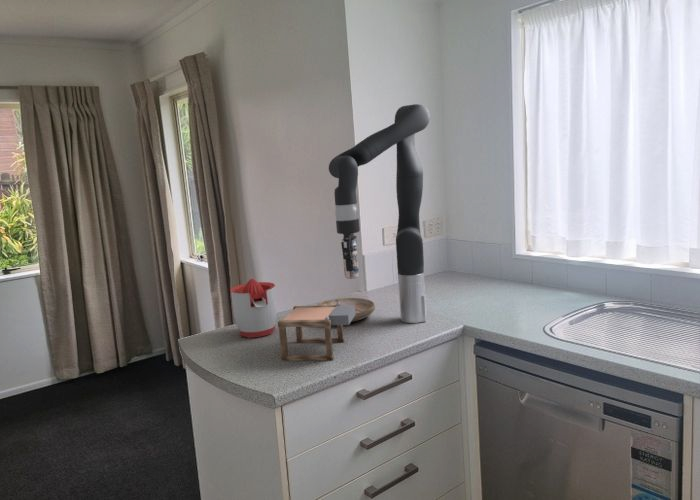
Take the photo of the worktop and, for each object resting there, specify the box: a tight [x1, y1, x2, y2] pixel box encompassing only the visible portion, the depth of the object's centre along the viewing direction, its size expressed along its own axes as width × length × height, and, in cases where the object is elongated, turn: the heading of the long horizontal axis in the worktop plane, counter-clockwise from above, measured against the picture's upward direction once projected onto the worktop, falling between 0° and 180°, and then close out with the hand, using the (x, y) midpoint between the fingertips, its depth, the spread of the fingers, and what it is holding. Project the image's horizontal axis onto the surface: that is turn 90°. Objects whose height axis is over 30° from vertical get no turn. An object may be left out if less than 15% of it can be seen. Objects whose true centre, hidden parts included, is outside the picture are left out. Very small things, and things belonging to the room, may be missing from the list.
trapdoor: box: [282, 305, 355, 326], centre depth 172 cm, size 20×14×3 cm
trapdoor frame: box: [277, 302, 345, 361], centre depth 174 cm, size 16×18×13 cm
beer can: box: [342, 242, 360, 280], centre depth 182 cm, size 5×5×12 cm
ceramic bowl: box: [315, 297, 376, 323], centre depth 208 cm, size 23×24×5 cm
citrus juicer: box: [230, 278, 278, 339], centre depth 195 cm, size 16×17×20 cm
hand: (351, 269), depth 182 cm, fingers closed on beer can, 4 cm apart
